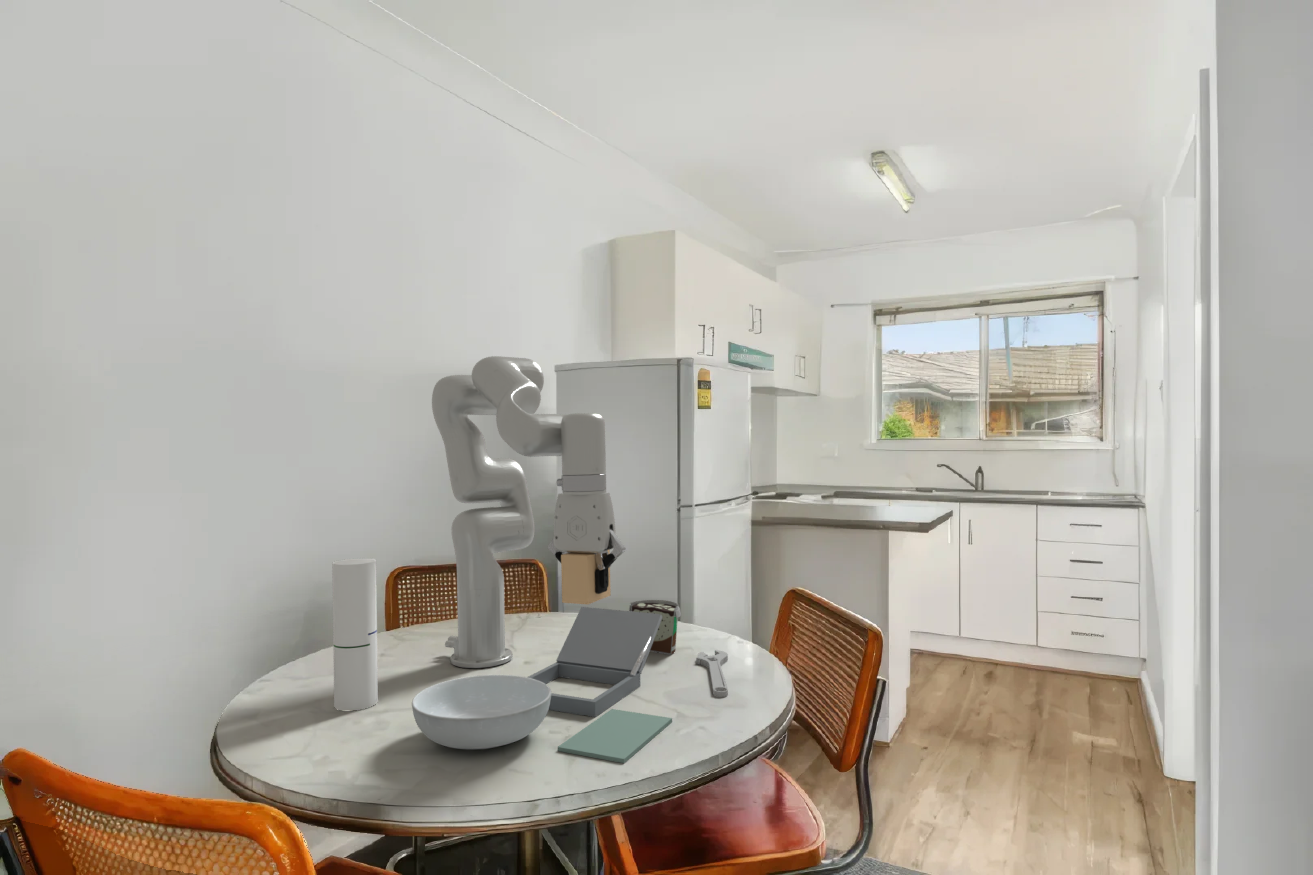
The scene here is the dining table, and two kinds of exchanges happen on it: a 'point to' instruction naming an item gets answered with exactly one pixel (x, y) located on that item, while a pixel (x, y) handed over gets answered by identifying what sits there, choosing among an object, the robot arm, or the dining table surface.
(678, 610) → the food container
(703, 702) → the dining table surface
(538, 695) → the serving bowl
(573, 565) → the block
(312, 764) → the dining table surface
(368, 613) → the cylindrical container
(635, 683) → the equipment case
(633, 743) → the rubber mat
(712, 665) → the adjustable wrench
